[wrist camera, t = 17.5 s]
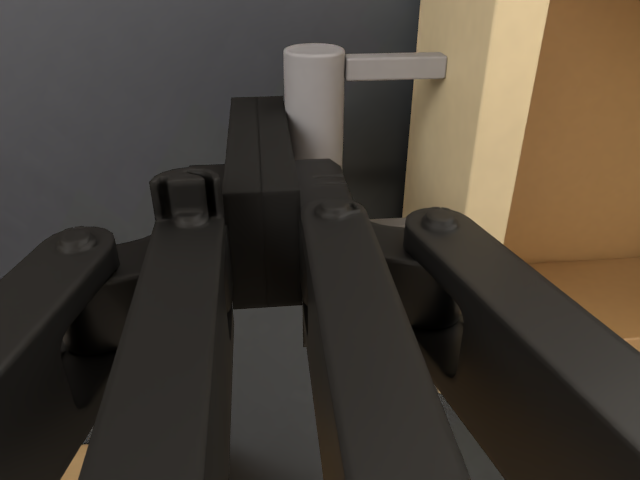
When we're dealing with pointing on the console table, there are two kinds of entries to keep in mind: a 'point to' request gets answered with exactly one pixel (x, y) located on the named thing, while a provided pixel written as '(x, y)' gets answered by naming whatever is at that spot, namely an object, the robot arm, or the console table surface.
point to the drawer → (511, 133)
